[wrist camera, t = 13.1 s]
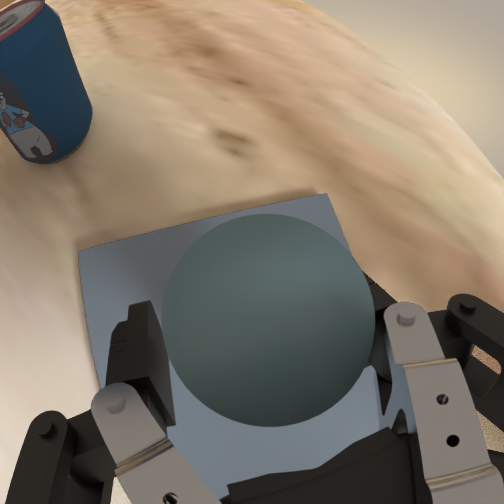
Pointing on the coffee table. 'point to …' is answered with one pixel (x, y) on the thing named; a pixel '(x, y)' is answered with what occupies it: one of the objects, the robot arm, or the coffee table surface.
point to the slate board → (185, 403)
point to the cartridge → (268, 320)
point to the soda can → (40, 85)
